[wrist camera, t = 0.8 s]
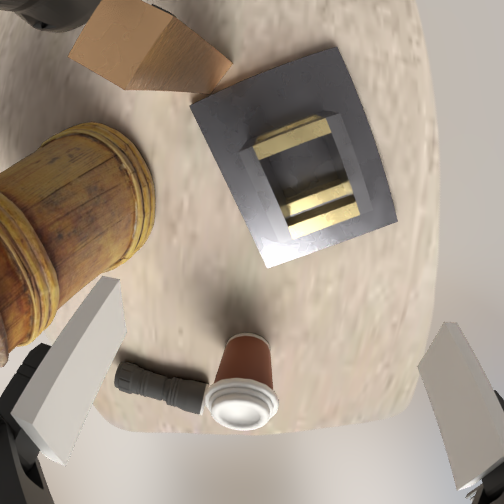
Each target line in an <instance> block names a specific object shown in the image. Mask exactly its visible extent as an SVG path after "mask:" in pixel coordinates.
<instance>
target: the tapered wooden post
mask: <svg viewBox="0 0 504 504" xmlns="http://www.w3.org/2000/svg"><path fill="white" fill-rule="evenodd" d="M68 57H69V58H70V59H72V60H74V61H76V62H78V63H79V64H81V65H83V66H85V67H86V68H88V69H90V70H92V71H93V72H95V73H97V74H98V75H100V76H102V77H104V78H105V79H107V80H109V81H110V82H112V83H114V84H115V85H117V86H119V87H120V88H122V89H124V90H155V91H177V92H192V93H205V94H211V93H212V91H213V90H214V88H215V87H216V86H217V84H218V83H219V82H220V80H221V79H222V78H223V76H224V75H225V74H226V72H227V71H228V70H229V68H230V67H231V66H232V64H233V63H232V62H231V61H229V60H228V59H227V58H226V57H225V56H223V55H222V54H221V53H220V52H219V51H218V50H216V49H215V48H214V47H213V46H211V45H210V44H209V43H208V42H207V41H205V40H204V39H203V38H202V37H200V36H199V35H198V34H196V33H195V32H194V31H193V30H191V29H190V28H189V27H187V26H186V25H185V24H184V23H182V22H181V21H180V20H178V19H177V18H176V17H175V16H174V15H173V14H171V13H170V12H168V11H166V10H164V9H162V8H160V7H158V6H156V5H154V4H152V5H150V4H147V3H145V2H143V1H141V0H102V1H101V2H100V4H99V5H98V6H97V8H96V10H95V11H94V13H93V14H92V16H91V17H90V19H89V20H88V22H87V24H86V25H85V27H84V29H83V30H82V32H81V34H80V35H79V37H78V39H77V41H76V42H75V44H74V46H73V48H72V50H71V51H70V53H69V55H68Z"/></svg>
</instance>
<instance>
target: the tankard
mask: <svg viewBox="0 0 504 504" xmlns="http://www.w3.org/2000/svg"><path fill="white" fill-rule="evenodd" d="M154 218H155V190H154V184H153V180H152V177H151V174H150V171H149V169H148V167H147V165H146V163H145V161H144V159H143V158H142V156H141V154H140V153H139V151H138V150H137V148H136V147H135V145H134V144H133V143H132V142H131V141H130V140H129V139H128V138H127V137H125V136H124V135H123V134H121V133H120V132H119V131H117V130H115V129H113V128H110V127H108V126H106V125H104V124H101V123H95V122H89V123H82V124H79V125H76V126H73V127H71V128H68V129H66V130H64V131H62V132H60V133H59V134H56V135H54V136H52V137H51V138H49V139H48V140H46V141H45V142H43V143H42V144H41V146H40V147H39V148H38V149H37V151H36V152H34V153H32V154H30V155H29V156H27V157H25V158H24V159H22V160H20V161H19V162H17V163H16V164H14V165H12V166H11V167H9V168H8V169H6V170H5V171H3V172H1V173H0V367H4V366H5V364H6V363H7V361H8V356H9V353H10V352H11V351H12V350H13V349H14V348H15V347H16V346H17V347H20V346H26V345H28V344H30V343H31V342H33V341H34V340H35V338H36V337H38V336H39V335H40V334H41V332H42V331H43V330H45V329H46V328H47V327H48V326H49V325H50V324H51V322H52V321H53V319H54V317H55V315H56V312H57V310H58V309H59V308H60V307H61V306H63V305H64V304H65V303H66V302H67V301H68V300H69V299H70V298H71V297H73V296H74V295H75V294H76V293H77V292H78V291H80V290H81V289H82V288H83V287H85V286H86V285H87V284H88V283H90V282H91V281H92V280H93V279H95V278H96V277H97V276H98V275H100V274H101V273H104V272H108V271H110V270H113V269H115V268H117V267H118V266H120V265H121V264H123V263H125V262H126V261H127V260H128V259H130V258H131V257H132V256H133V255H134V254H135V253H136V251H137V250H139V249H140V248H141V247H142V246H143V245H144V244H145V242H146V241H147V239H148V237H149V235H150V233H151V230H152V228H153V225H154Z"/></svg>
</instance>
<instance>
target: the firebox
mask: <svg viewBox="0 0 504 504" xmlns="http://www.w3.org/2000/svg"><path fill="white" fill-rule="evenodd" d="M190 108H191V111H192V113H193V115H194V117H195V119H196V121H197V123H198V125H199V127H200V129H201V131H202V133H203V135H204V137H205V139H206V141H207V144H208V146H209V148H210V150H211V152H212V154H213V156H214V158H215V160H216V162H217V164H218V166H219V168H220V170H221V173H222V175H223V177H224V179H225V181H226V183H227V185H228V187H229V189H230V191H231V193H232V195H233V197H234V200H235V202H236V204H237V206H238V208H239V210H240V212H241V214H242V216H243V218H244V220H245V222H246V225H247V227H248V229H249V231H250V233H251V235H252V237H253V239H254V241H255V243H256V246H257V248H258V250H259V252H260V254H261V256H262V258H263V260H264V262H265V264H266V267H267V268H270V267H273V266H276V265H279V264H282V263H284V262H287V261H290V260H293V259H296V258H299V257H301V256H304V255H307V254H310V253H313V252H316V251H318V250H321V249H324V248H327V247H330V246H332V245H335V244H338V243H341V242H343V241H346V240H349V239H352V238H354V237H357V236H360V235H363V234H365V233H368V232H371V231H374V230H376V229H379V228H382V227H384V226H387V225H390V224H392V223H395V222H398V220H397V216H396V212H395V208H394V205H393V201H392V197H391V193H390V190H389V186H388V183H387V179H386V176H385V172H384V169H383V166H382V162H381V159H380V156H379V153H378V150H377V147H376V144H375V141H374V138H373V135H372V132H371V129H370V126H369V123H368V121H367V118H366V115H365V112H364V110H363V107H362V104H361V102H360V99H359V97H358V94H357V92H356V89H355V87H354V84H353V82H352V79H351V77H350V75H349V72H348V70H347V68H346V65H345V63H344V61H343V59H342V56H341V54H340V52H339V50H338V48H337V47H334V48H331V49H328V50H325V51H321V52H318V53H315V54H312V55H309V56H306V57H303V58H300V59H298V60H295V61H292V62H289V63H286V64H284V65H281V66H278V67H276V68H273V69H271V70H268V71H265V72H263V73H260V74H258V75H256V76H253V77H251V78H248V79H246V80H244V81H241V82H239V83H237V84H234V85H232V86H230V87H228V88H225V89H223V90H221V91H219V92H217V93H215V94H213V95H210V96H208V97H206V98H204V99H202V100H200V101H198V102H196V103H194V104H192V105H190Z"/></svg>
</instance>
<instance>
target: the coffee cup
mask: <svg viewBox="0 0 504 504" xmlns="http://www.w3.org/2000/svg"><path fill="white" fill-rule="evenodd" d="M205 405H206V407H207V408H208V409H209V411H210V412H211V416H212V417H213V418H214V420H215V421H216V422H218V423H219V424H221V425H222V426H224V427H227V428H230V429H234V430H243V431H244V430H254V429H257V428H259V427H262V426H264V425H265V424H266V423H267V422H268V421H269V419H270V418H271V417H272V416H273V415H275V414H276V413H277V410H278V406H279V399H278V397H277V395H276V393H275V391H273V382H272V368H271V355H270V346H269V344H268V342H267V341H266V340H265V339H264V338H263V337H261V336H259V335H256V334H254V333H240V334H236V335H234V336H233V337H231V338H230V339H229V340H228V342H227V343H226V347H225V350H224V353H223V356H222V359H221V363H220V366H219V369H218V372H217V375H216V378H215V381H214V384H212V385H210V387H209V388H208V389H207V391H206V392H205Z"/></svg>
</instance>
